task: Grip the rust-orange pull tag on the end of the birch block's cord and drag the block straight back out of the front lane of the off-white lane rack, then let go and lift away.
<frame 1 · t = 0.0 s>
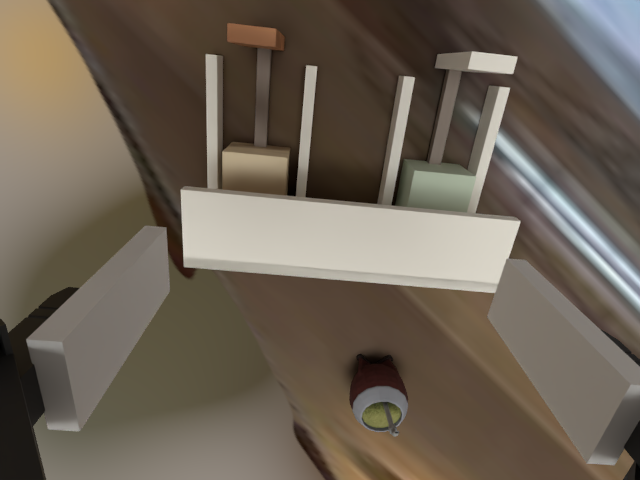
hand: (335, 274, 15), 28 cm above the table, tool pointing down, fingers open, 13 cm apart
lane rack: (346, 158, 42), on the table
birch block: (260, 172, 42), resting in lane rack
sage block: (425, 188, 43), resting in lane rack
mate gourd: (371, 364, 53), on the table
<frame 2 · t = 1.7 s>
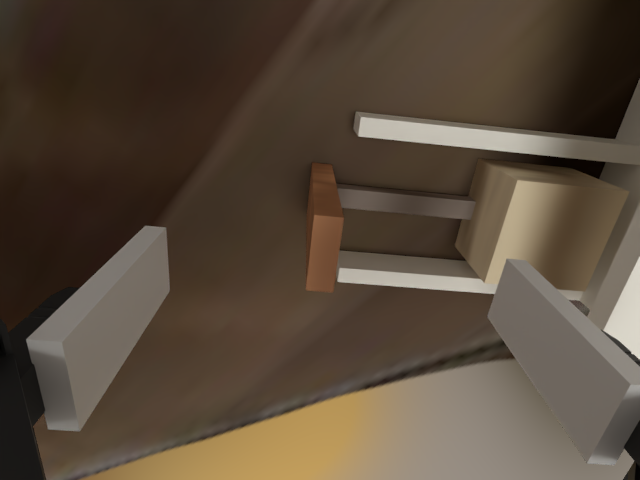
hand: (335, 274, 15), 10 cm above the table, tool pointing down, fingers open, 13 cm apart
lane rack: (517, 52, 22), on the table
birch block: (510, 208, 26), resting in lane rack
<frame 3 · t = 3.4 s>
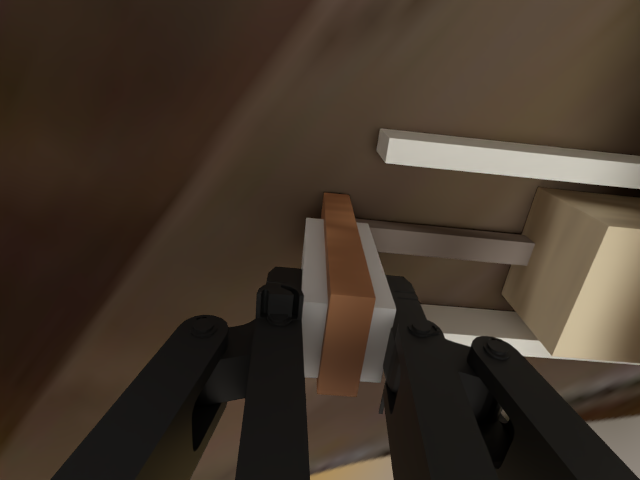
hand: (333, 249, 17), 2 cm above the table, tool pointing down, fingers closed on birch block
lane rack: (595, 51, 17), on the table
birch block: (574, 248, 20), resting in lane rack, touching gripper
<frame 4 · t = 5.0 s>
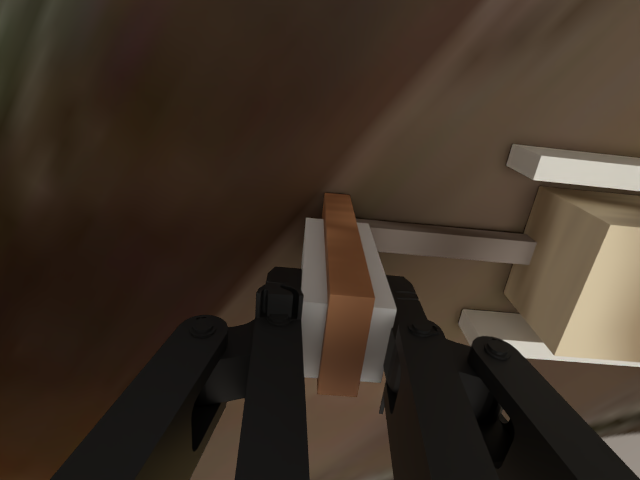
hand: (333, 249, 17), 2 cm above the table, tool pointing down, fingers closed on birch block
birch block: (577, 247, 20), on the table, touching gripper
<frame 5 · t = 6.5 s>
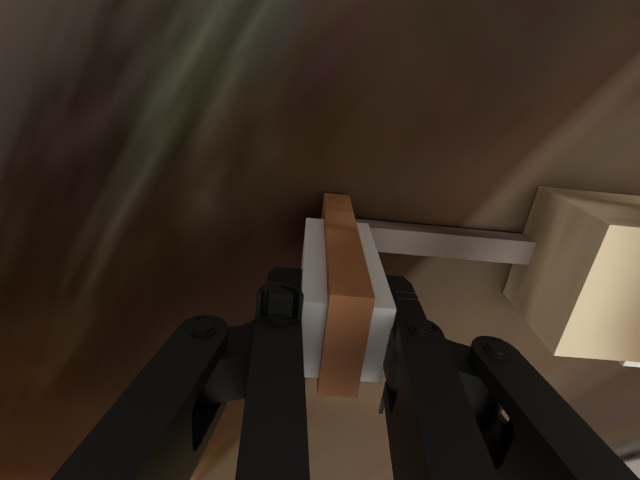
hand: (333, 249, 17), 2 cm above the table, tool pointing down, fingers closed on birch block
birch block: (576, 247, 20), on the table, touching gripper
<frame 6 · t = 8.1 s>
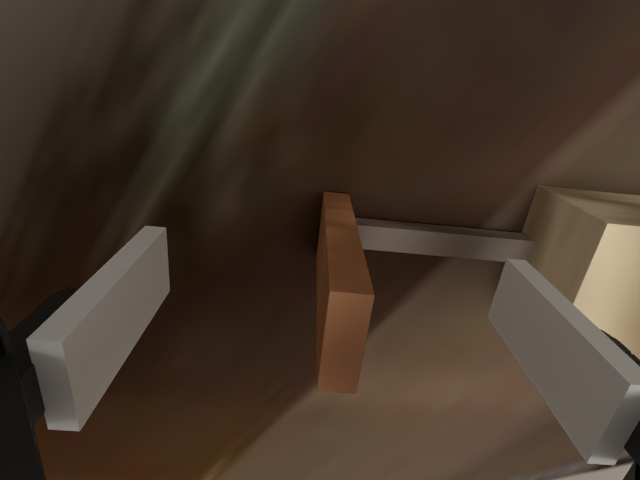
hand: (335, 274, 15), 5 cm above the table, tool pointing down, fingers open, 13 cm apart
birch block: (574, 246, 20), on the table
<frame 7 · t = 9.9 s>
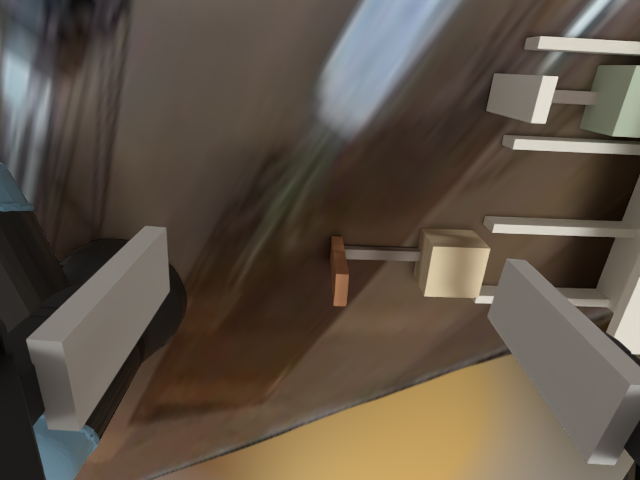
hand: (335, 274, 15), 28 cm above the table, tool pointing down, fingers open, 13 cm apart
lane rack: (568, 184, 43), on the table
birch block: (442, 252, 46), on the table
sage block: (617, 99, 40), resting in lane rack
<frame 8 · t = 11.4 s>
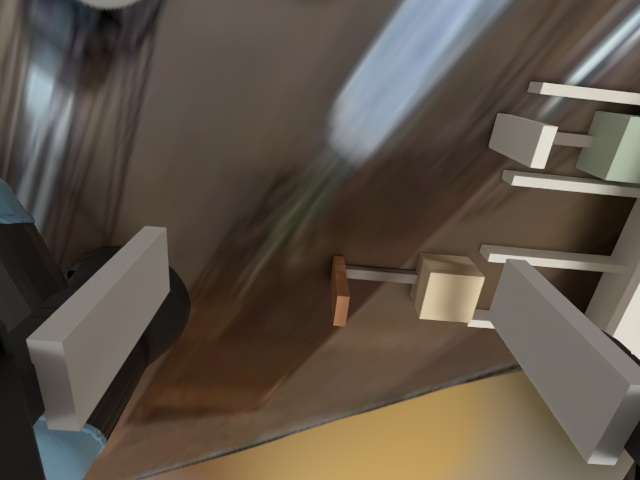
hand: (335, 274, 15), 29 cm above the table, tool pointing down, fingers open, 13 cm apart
lane rack: (562, 219, 45), on the table
birch block: (438, 276, 48), on the table
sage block: (611, 142, 42), resting in lane rack
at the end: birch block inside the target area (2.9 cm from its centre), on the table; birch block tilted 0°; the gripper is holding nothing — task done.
